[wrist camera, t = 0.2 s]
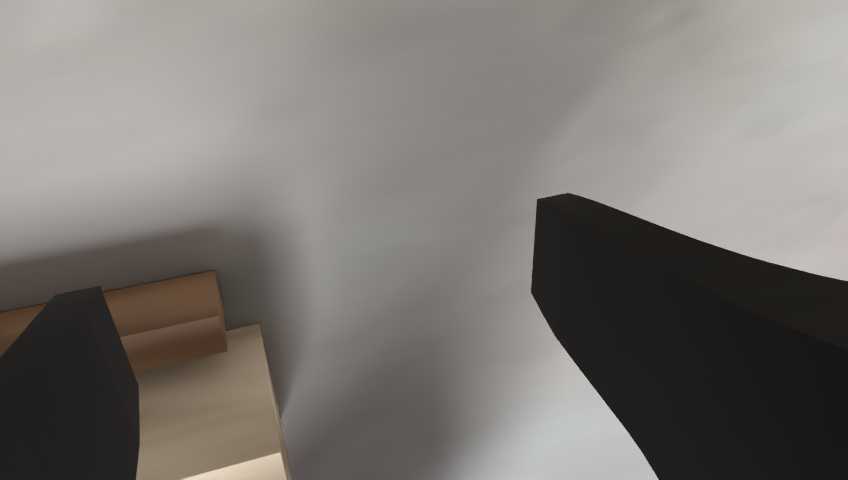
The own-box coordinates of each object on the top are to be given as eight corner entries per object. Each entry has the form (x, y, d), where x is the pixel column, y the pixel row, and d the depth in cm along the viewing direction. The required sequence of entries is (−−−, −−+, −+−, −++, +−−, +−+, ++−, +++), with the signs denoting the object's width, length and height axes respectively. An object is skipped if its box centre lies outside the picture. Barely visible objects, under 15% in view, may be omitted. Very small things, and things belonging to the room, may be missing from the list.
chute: (266, 472, 26) (276, 541, 24) (-126, 582, 23) (-165, 676, 20) (214, 267, 21) (218, 327, 18) (-316, 372, 17) (-403, 464, 15)
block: (280, 418, 25) (304, 555, 20) (61, 476, 23) (30, 642, 18) (259, 321, 23) (280, 452, 18) (9, 377, 21) (-44, 540, 16)
